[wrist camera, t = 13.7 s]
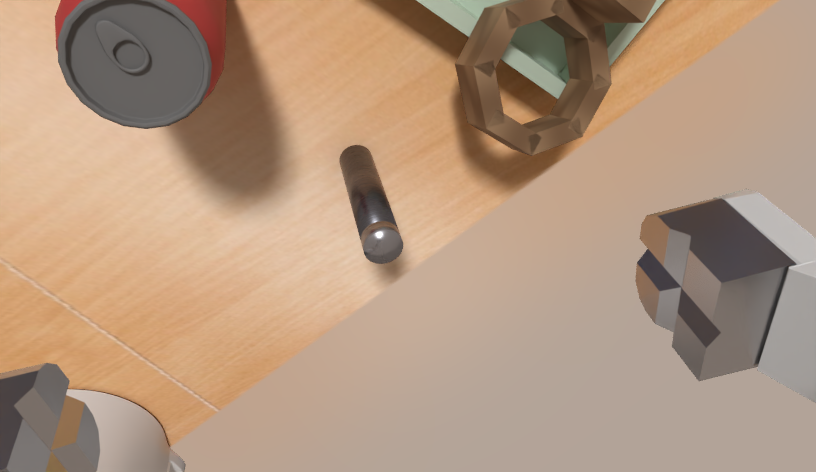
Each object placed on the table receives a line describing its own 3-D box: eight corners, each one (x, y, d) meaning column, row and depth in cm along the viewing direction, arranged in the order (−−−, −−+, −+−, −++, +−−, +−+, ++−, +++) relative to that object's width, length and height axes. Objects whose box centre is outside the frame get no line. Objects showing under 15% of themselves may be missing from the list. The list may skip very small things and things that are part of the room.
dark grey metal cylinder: (360, 179, 44) (388, 268, 36) (333, 165, 43) (356, 255, 35) (378, 154, 43) (410, 240, 35) (351, 139, 42) (378, 225, 34)
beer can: (167, -114, 32) (140, -63, 22) (251, 0, 36) (259, 84, 26) (66, -37, 33) (-2, 42, 23) (158, 65, 37) (133, 169, 27)
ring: (434, 103, 37) (481, 116, 31) (548, -115, 35) (618, -140, 30) (540, 165, 40) (598, 187, 35) (647, -29, 39) (725, -38, 34)
